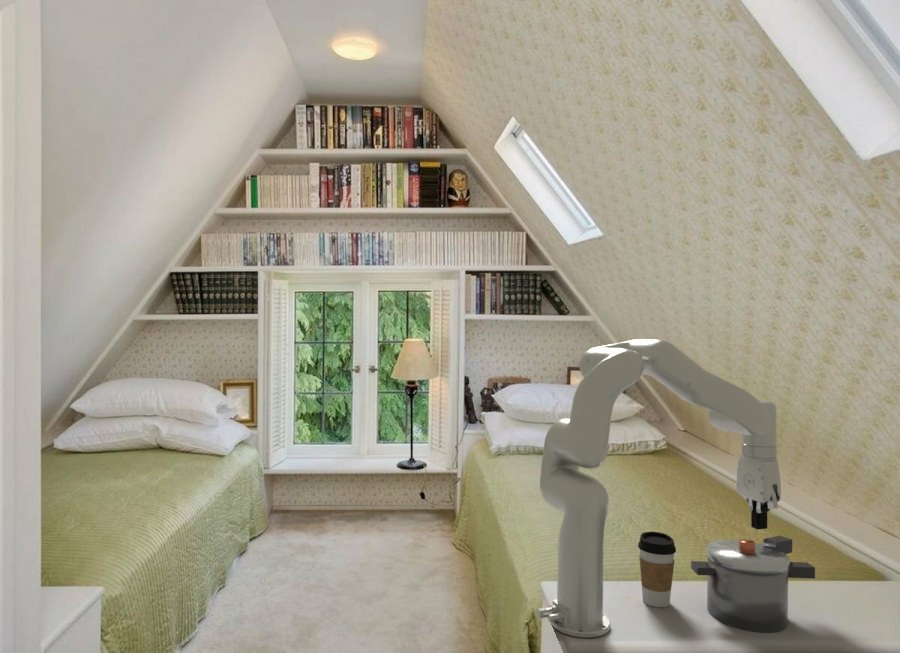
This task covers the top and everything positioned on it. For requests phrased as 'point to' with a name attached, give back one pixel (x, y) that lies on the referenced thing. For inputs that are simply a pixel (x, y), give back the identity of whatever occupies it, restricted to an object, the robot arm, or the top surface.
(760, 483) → the robot arm
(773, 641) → the top surface
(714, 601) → the cooker pot
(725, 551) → the cooker lid
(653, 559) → the coffee cup
